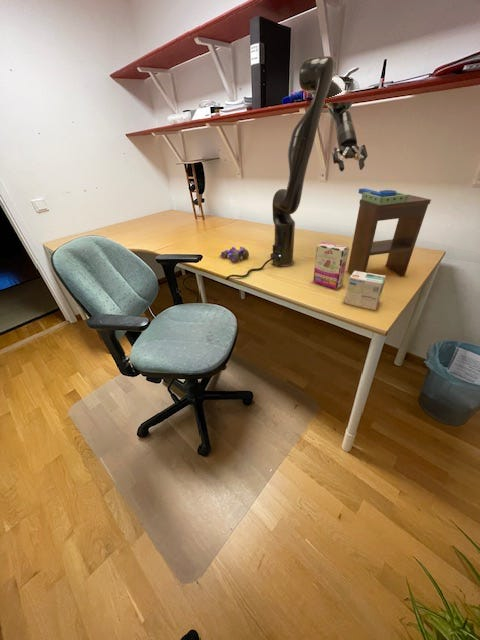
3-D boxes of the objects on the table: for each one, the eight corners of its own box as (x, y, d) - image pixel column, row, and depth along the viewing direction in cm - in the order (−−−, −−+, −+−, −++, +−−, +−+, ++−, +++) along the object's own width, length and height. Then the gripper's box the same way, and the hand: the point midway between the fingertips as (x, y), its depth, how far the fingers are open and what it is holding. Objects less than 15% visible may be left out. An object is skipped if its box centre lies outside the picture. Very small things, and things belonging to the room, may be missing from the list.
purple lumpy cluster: (230, 252, 145) (229, 241, 141) (249, 258, 136) (248, 246, 132) (217, 257, 140) (216, 246, 136) (236, 264, 131) (235, 252, 127)
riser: (405, 276, 107) (431, 199, 90) (360, 282, 106) (378, 205, 88) (387, 265, 117) (407, 194, 100) (346, 271, 115) (359, 199, 98)
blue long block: (397, 200, 90) (399, 191, 88) (384, 201, 90) (386, 193, 88) (366, 192, 106) (368, 184, 104) (355, 193, 106) (356, 185, 104)
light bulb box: (379, 302, 93) (387, 275, 87) (375, 311, 88) (383, 283, 82) (348, 295, 98) (354, 269, 92) (343, 303, 94) (349, 276, 87)
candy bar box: (342, 285, 105) (350, 246, 95) (336, 290, 102) (343, 250, 93) (318, 278, 112) (323, 241, 102) (312, 282, 109) (316, 244, 99)
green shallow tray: (406, 202, 89) (408, 194, 88) (379, 205, 88) (381, 197, 87) (385, 196, 99) (387, 189, 98) (361, 199, 98) (362, 192, 97)
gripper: (333, 130, 109) (339, 164, 107) (366, 127, 110) (372, 161, 107) (327, 145, 117) (333, 176, 115) (357, 142, 117) (364, 173, 115)
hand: (352, 169), depth 111 cm, fingers open, 8 cm apart
